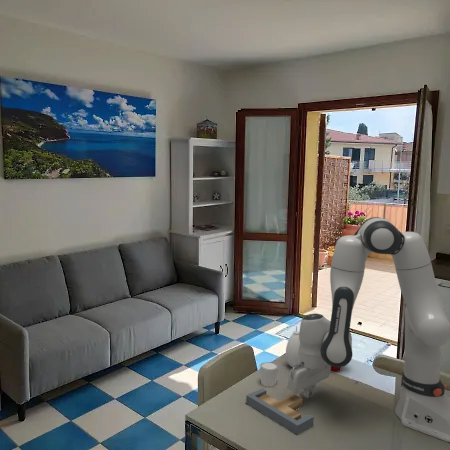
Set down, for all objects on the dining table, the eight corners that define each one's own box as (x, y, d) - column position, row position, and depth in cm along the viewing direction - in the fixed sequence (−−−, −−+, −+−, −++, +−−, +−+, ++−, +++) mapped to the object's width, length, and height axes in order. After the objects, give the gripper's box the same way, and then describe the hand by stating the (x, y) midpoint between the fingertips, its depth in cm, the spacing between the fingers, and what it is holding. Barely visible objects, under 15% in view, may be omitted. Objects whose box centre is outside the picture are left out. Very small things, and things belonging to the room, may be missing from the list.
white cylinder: (276, 388, 162) (277, 370, 161) (258, 386, 163) (259, 368, 162) (277, 380, 169) (278, 363, 168) (260, 377, 170) (261, 360, 169)
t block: (316, 414, 145) (316, 406, 145) (292, 427, 137) (293, 418, 137) (281, 395, 157) (281, 387, 157) (257, 405, 149) (257, 397, 149)
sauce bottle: (287, 361, 186) (289, 321, 183) (305, 365, 183) (307, 324, 181) (283, 369, 178) (285, 327, 176) (301, 372, 175) (304, 330, 173)
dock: (313, 425, 139) (313, 416, 138) (297, 434, 133) (297, 425, 133) (262, 396, 156) (262, 388, 156) (246, 403, 151) (246, 395, 150)
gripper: (298, 370, 144) (296, 409, 145) (334, 354, 157) (332, 390, 159) (284, 363, 148) (282, 401, 150) (320, 349, 162) (318, 383, 163)
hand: (308, 395), depth 154 cm, fingers closed
